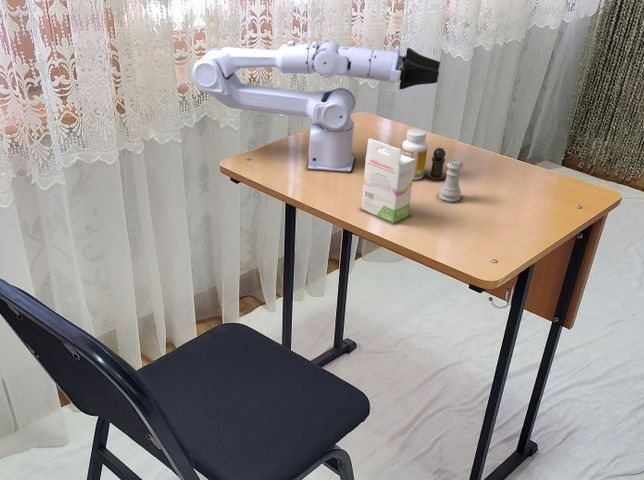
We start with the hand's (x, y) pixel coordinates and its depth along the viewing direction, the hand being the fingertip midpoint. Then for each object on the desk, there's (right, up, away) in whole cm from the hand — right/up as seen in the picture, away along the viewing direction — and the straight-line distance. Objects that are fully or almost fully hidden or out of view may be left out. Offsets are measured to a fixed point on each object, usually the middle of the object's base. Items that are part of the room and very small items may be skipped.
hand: (438, 72), depth 148 cm
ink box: (-11, -29, -2) cm, 31 cm away
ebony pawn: (+2, -19, +11) cm, 22 cm away
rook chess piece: (+3, -25, +3) cm, 25 cm away
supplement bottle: (-3, -18, +12) cm, 22 cm away
